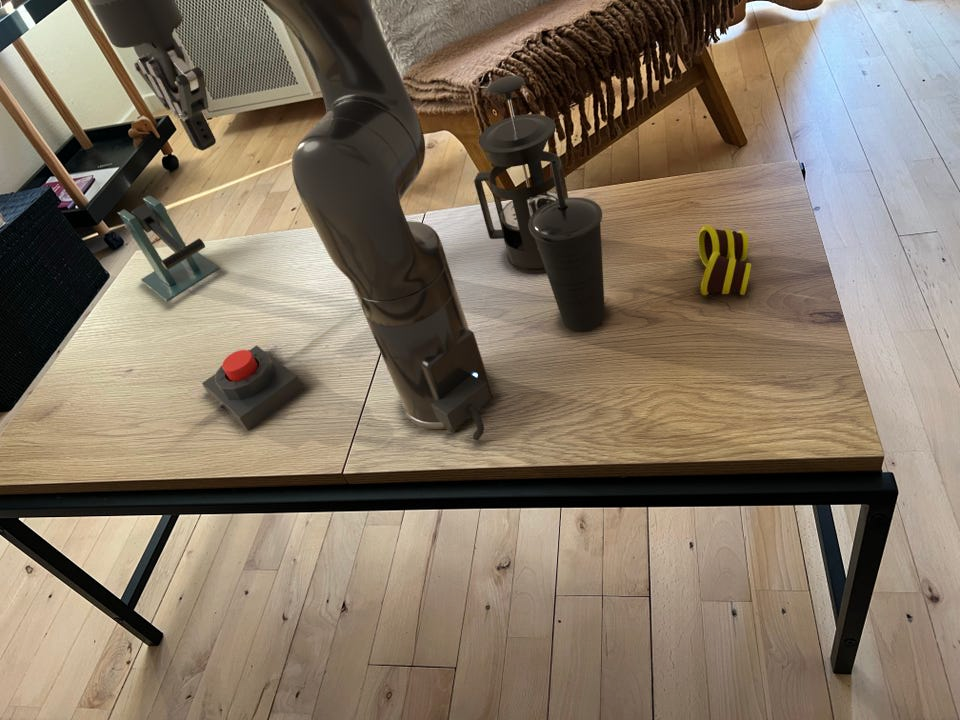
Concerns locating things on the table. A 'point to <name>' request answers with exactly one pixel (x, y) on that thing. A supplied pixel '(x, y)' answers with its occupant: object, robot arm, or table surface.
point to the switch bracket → (161, 279)
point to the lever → (166, 237)
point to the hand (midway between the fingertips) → (206, 146)
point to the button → (239, 365)
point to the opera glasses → (723, 260)
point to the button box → (254, 390)
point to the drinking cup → (572, 256)
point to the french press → (516, 147)
